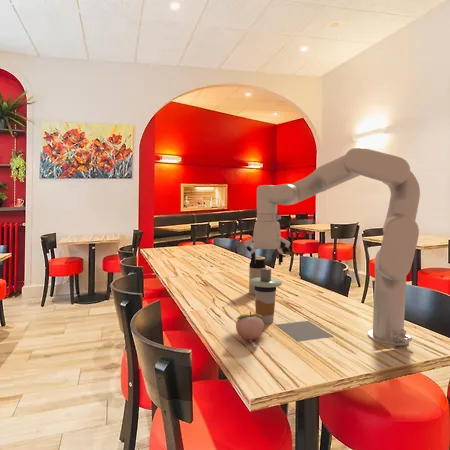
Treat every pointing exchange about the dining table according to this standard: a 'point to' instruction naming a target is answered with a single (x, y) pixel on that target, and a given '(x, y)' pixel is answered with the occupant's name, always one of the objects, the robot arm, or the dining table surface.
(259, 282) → the lid
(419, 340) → the dining table surface
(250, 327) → the decorative fruit
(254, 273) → the travel mug
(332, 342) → the dining table surface
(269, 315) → the coffee cup
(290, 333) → the mat
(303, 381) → the dining table surface
